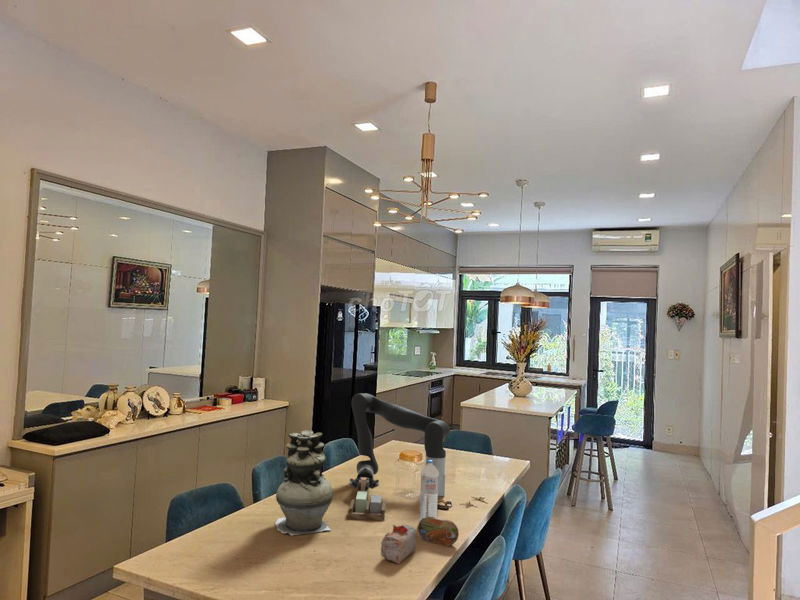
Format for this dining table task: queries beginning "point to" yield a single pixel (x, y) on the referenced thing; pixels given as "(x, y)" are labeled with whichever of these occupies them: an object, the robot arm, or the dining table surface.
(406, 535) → the food item
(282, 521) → the decorative urn
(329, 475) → the dining table surface
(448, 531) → the tin
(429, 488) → the water bottle
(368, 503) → the lane rack
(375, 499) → the slate block
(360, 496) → the sage block
